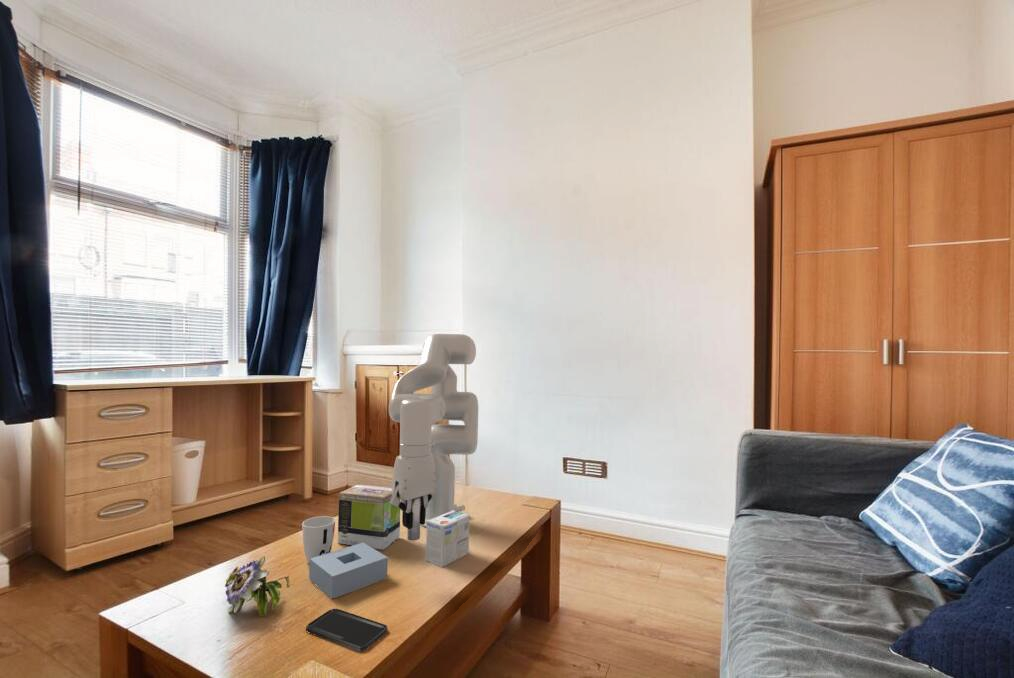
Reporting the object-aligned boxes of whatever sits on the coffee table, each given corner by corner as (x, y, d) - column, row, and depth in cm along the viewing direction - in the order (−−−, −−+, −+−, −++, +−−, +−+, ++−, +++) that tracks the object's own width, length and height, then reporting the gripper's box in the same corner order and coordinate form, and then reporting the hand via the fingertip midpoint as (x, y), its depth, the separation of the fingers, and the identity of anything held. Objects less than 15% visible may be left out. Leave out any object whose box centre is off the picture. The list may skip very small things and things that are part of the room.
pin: (415, 534, 113) (416, 493, 113) (422, 538, 111) (423, 497, 111) (404, 537, 111) (405, 496, 111) (412, 541, 109) (412, 500, 109)
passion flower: (232, 638, 96) (210, 585, 99) (282, 605, 105) (260, 557, 108) (250, 626, 90) (225, 569, 93) (301, 592, 99) (277, 542, 102)
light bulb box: (451, 547, 130) (452, 509, 131) (469, 553, 127) (470, 514, 127) (424, 560, 122) (425, 519, 122) (443, 568, 118) (444, 525, 118)
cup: (322, 568, 116) (323, 528, 116) (294, 564, 118) (295, 525, 118) (340, 554, 124) (341, 517, 124) (313, 551, 126) (314, 514, 126)
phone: (333, 607, 97) (389, 626, 91) (333, 612, 97) (389, 631, 91) (303, 627, 90) (362, 649, 84) (302, 633, 90) (361, 655, 84)
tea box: (400, 537, 136) (402, 487, 137) (382, 551, 127) (384, 497, 127) (356, 531, 141) (358, 482, 141) (336, 544, 131) (337, 491, 131)
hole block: (362, 561, 120) (363, 542, 120) (387, 578, 112) (387, 557, 112) (309, 579, 110) (309, 558, 110) (331, 599, 102) (332, 576, 102)
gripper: (433, 441, 120) (431, 512, 120) (377, 452, 108) (375, 530, 108) (451, 447, 114) (450, 520, 114) (394, 458, 103) (392, 540, 103)
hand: (413, 524), depth 111 cm, fingers closed on pin, 3 cm apart
